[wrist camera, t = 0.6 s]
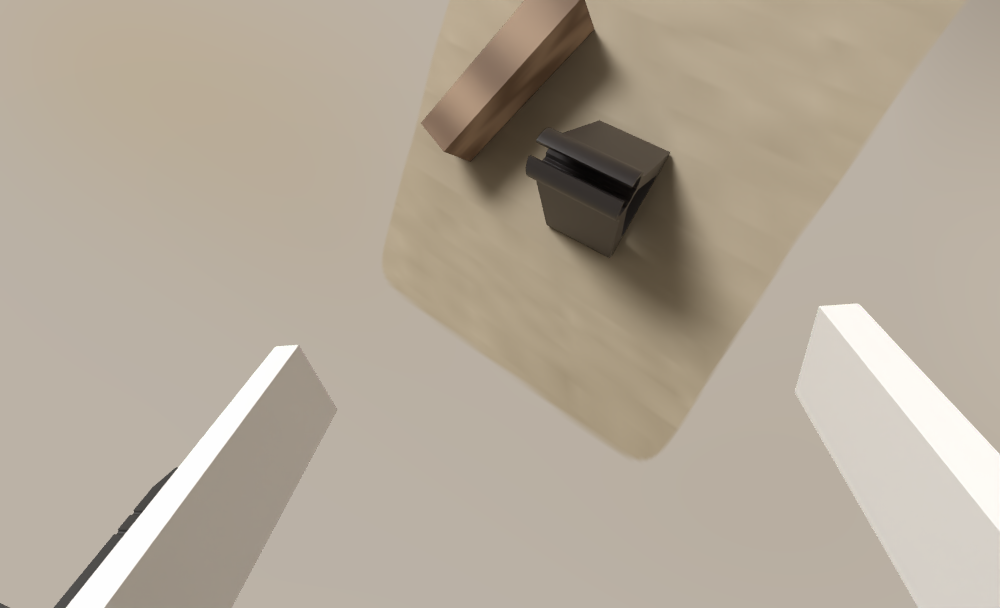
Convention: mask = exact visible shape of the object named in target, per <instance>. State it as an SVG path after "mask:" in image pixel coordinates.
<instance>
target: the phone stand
mask: <svg viewBox="0 0 1000 608" xmlns="http://www.w3.org/2000/svg"><path fill="white" fill-rule="evenodd" d="M536 141H537V143H539V144H541V145H543V146H545V147H547V148H549V149H548V150H547V152H546V157H545V158H544V159H543V160H540V159H538V158H536V157H534V156H531V155H530V156H529V157H528V160H527V165H526V174H527V176H529V177H531V178H533V179H534V180H536V181H537V185H538V190H539V194H540V198H541V202H542V207H543V211H544V215H545V220H546V224H547V225H548V226H550V227H552V228H554V229H556V230H558V231H560V232H562V233H563V234H565V235H567V236H569V237H571V238H573V239H575V240H577V241H578V242H580V243H582V244H584V245H586V246H588V247H590V248H592V249H594V250H595V251H597V252H599V253H601V254H603V255H605V256H607V257H609V258H610V257H611V256H612V254H613V252H614V251H615V249H616V247H617V245H618V244H619V242H620V240H621V238H622V236H623V235H624V233H625V231H626V229H627V228H628V226H629V224H630V222H631V221H632V219H633V217H634V215H635V214H636V212H637V210H638V208H639V206H640V205H641V203H642V201H643V200H644V198H645V196H646V194H647V193H648V191H649V189H650V187H651V186H652V184H653V182H654V180H655V179H656V177H657V175H658V173H659V172H660V170H661V168H662V166H663V165H664V163H665V161H666V159H667V158H668V156H669V154H670V152H668V151H666V150H664V149H662V148H659V147H657V146H655V145H653V144H651V143H648V142H646V141H644V140H642V139H639V138H637V137H635V136H633V135H631V134H628V133H626V132H624V131H622V130H620V129H617V128H615V127H613V126H611V125H608V124H606V123H604V122H602V121H600V120H599V121H596V122H594V123H591V124H588V125H585V126H582V127H579V128H576V129H573V130H570V131H567V132H565V133H561V132H559V131H556V130H554V129H552V128H550V127H548V128H546V129H545V130H544V131H543V132H542V133H541V134H540V135H539V137H538V138H537V140H536Z"/></svg>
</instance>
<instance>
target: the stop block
mask: <svg viewBox="0 0 1000 608" xmlns="http://www.w3.org/2000/svg"><path fill="white" fill-rule="evenodd" d="M593 30H594V27H593V24H592V21H591V18H590V15H589V12H588V9H587V5H586V2H585V0H524V1H523V3H522V4H521V5H520V6H519V7H518V9H517V10H516V11H515V12H514V13H513V14H512V16H511V17H510V18H509V19H508V20H507V22H506V23H505V24H504V25H503V26H502V28H501V29H500V30H499V31H498V32H497V33H496V35H495V36H494V37H493V38H492V39H491V41H490V42H489V43H488V44H487V45H486V47H485V48H484V49H483V50H482V51H481V52H480V54H479V55H478V56H477V57H476V58H475V60H474V61H473V62H472V63H471V64H470V65H469V67H468V68H467V69H466V70H465V71H464V73H463V74H462V75H461V76H460V77H459V79H458V80H457V81H456V82H455V83H454V84H453V86H452V87H451V88H450V89H449V90H448V92H447V93H446V94H445V95H444V96H443V97H442V99H441V100H440V101H439V102H438V103H437V105H436V106H435V107H434V108H433V109H432V111H431V112H430V113H429V114H428V115H427V116H426V118H425V119H424V120H423V121H422V122H421V124H422V125H423V126H424V128H425V129H426V130H427V131H428V133H429V134H430V135H431V136H432V138H433V139H434V140H435V141H436V142H437V144H438V145H439V146H440V147H441V149H442V150H443V151H444V152H446V153H449V154H452V155H454V156H457V157H460V158H462V159H465V160H468V161H471V160H472V159H473V158H474V157H475V156H476V155H477V154H478V153H479V152H480V151H481V149H482V148H483V147H484V146H485V145H486V144H487V143H488V142H489V141H490V140H491V139H492V138H493V137H494V136H495V135H496V133H497V132H498V131H499V130H500V129H501V128H502V127H503V126H504V125H505V124H506V123H507V122H508V121H509V120H510V119H511V117H512V116H513V115H514V114H515V113H516V112H517V111H518V110H519V109H520V108H521V107H522V106H523V105H524V104H525V103H526V102H527V100H528V99H529V98H530V97H531V96H532V95H533V94H534V93H535V92H536V91H537V90H538V89H539V88H540V87H541V86H542V84H543V83H544V82H545V81H546V80H547V79H548V78H549V77H550V76H551V75H552V74H553V73H554V72H555V71H556V70H557V68H558V67H559V66H560V65H561V64H562V63H563V62H564V61H565V60H566V59H567V58H568V57H569V56H570V55H571V54H572V52H573V51H574V50H575V49H576V48H577V47H578V46H579V45H580V44H581V43H582V42H583V41H584V40H585V39H586V38H587V36H588V35H589V34H590V33H591V32H592V31H593Z"/></svg>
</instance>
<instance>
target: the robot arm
mask: <svg viewBox="0 0 1000 608" xmlns="http://www.w3.org/2000/svg"><path fill="white" fill-rule="evenodd" d="M795 394H796V395H797V397H798V399H799V401H800V402H801V404H802V406H803V408H804V409H805V411H806V413H807V415H808V416H809V418H810V420H811V421H812V423H813V425H814V427H815V429H816V430H817V432H818V434H819V436H820V437H821V439H822V441H823V443H824V444H825V446H826V448H827V450H828V451H829V453H830V455H831V456H832V458H833V460H834V462H835V464H836V465H837V467H838V469H839V471H840V472H841V474H842V476H843V478H844V479H845V481H846V483H847V485H848V486H849V488H850V489H851V491H852V493H853V495H854V497H855V498H856V500H857V502H858V504H859V506H860V507H861V509H862V511H863V513H864V514H865V516H866V518H867V519H868V521H869V523H870V525H871V527H872V528H873V530H874V532H875V533H876V535H877V537H878V539H879V540H880V542H881V544H882V546H883V547H884V549H885V551H886V553H887V554H888V556H889V558H890V560H891V561H892V563H893V565H894V567H895V568H896V570H897V572H898V574H899V575H900V577H901V579H902V580H903V582H904V584H905V586H906V588H907V589H908V591H909V593H910V595H911V596H912V598H913V600H914V602H915V603H916V605H917V607H918V608H1000V454H999V453H998V452H997V451H996V450H995V449H994V448H993V447H992V446H991V445H990V444H989V443H988V441H987V440H986V439H985V438H984V437H983V436H982V435H981V434H980V433H979V432H978V431H977V430H976V429H975V427H974V426H973V425H972V424H971V423H970V422H969V421H968V420H967V419H966V418H965V417H964V416H963V415H962V414H961V413H960V412H959V411H958V409H956V407H955V406H954V405H953V404H952V403H951V402H950V401H949V400H948V399H947V398H946V396H945V395H943V393H942V392H941V391H940V390H939V389H938V388H937V387H936V386H935V385H934V384H933V383H932V382H931V380H929V378H928V377H927V376H926V375H925V374H924V373H923V372H922V371H921V370H920V369H919V368H918V367H917V366H916V364H915V363H914V362H913V361H912V360H911V359H910V358H909V357H908V356H907V355H906V354H905V353H904V352H903V351H902V349H901V348H900V347H899V346H898V345H897V344H896V343H895V342H894V341H893V340H892V339H891V338H890V337H889V336H888V335H887V333H886V332H885V331H884V330H883V329H882V328H881V327H880V326H879V325H878V324H877V323H876V322H875V321H874V320H873V319H872V317H871V316H869V314H868V313H867V312H866V311H865V310H864V309H863V308H862V307H861V306H860V305H859V304H844V305H831V306H819V308H818V312H817V315H816V319H815V322H814V326H813V330H812V333H811V336H810V340H809V343H808V347H807V351H806V354H805V357H804V361H803V364H802V368H801V371H800V375H799V378H798V382H797V385H796V389H795ZM336 411H337V408H336V406H335V405H334V403H333V401H332V400H331V398H330V396H329V395H328V393H327V392H326V390H325V388H324V386H323V385H322V383H321V381H320V380H319V378H318V376H317V375H316V373H315V371H314V370H313V368H312V366H311V365H310V363H309V361H308V360H307V358H306V356H305V354H304V353H303V351H302V349H301V348H300V346H299V345H290V346H277V347H275V348H274V349H273V350H272V352H271V353H270V354H269V355H268V356H267V358H266V359H265V360H264V361H263V363H262V364H261V365H260V366H259V368H258V369H257V370H256V371H255V373H254V374H253V375H252V376H251V378H250V379H249V380H248V381H247V383H246V384H245V385H244V386H243V388H242V389H241V390H240V391H239V393H238V394H237V395H236V396H235V398H234V399H233V400H232V401H231V403H230V404H229V405H228V406H227V407H226V409H225V410H224V411H223V412H222V414H221V415H220V416H219V418H218V419H217V420H216V421H215V423H214V424H213V425H212V426H211V427H210V429H209V430H208V431H207V432H206V434H205V435H204V436H203V437H202V439H201V440H200V441H199V442H198V444H197V445H196V446H195V448H194V449H193V450H192V451H191V452H190V454H189V455H188V456H187V457H186V459H185V460H184V461H183V462H182V464H181V465H180V466H179V467H178V468H175V469H174V470H172V471H171V472H170V473H169V474H168V475H167V476H165V477H164V478H163V479H162V480H161V481H160V482H158V483H157V484H156V485H155V486H154V487H152V489H151V490H150V491H149V492H148V494H147V495H146V496H145V497H144V499H143V500H142V501H141V502H140V503H139V505H138V506H137V507H136V508H135V509H134V514H133V515H130V516H129V517H128V518H127V519H126V521H125V522H124V523H123V524H122V525H121V526H120V528H119V529H118V530H119V531H118V533H117V534H116V535H115V534H114V535H113V536H112V538H111V539H110V540H109V541H108V542H107V543H106V545H105V546H104V547H103V548H102V550H101V551H100V552H99V553H98V555H97V556H96V557H95V558H94V559H93V560H92V562H91V563H90V564H89V565H88V567H87V568H86V569H85V570H84V571H83V573H82V574H81V575H80V576H79V578H78V579H77V580H76V581H75V582H74V584H73V585H72V586H71V587H70V588H69V590H68V591H67V592H66V593H65V595H64V596H63V597H62V598H61V599H60V601H59V602H58V603H57V605H56V606H55V607H54V608H232V606H233V604H234V602H235V600H236V598H237V597H238V595H239V593H240V591H241V589H242V587H243V585H244V583H245V582H246V580H247V578H248V576H249V574H250V572H251V570H252V568H253V566H254V565H255V563H256V561H257V559H258V557H259V555H260V553H261V552H262V549H263V548H264V546H265V544H266V542H267V540H268V539H269V537H270V535H271V533H272V531H273V529H274V527H275V525H276V524H277V522H278V520H279V518H280V516H281V514H282V512H283V511H284V509H285V507H286V505H287V503H288V501H289V499H290V497H291V496H292V494H293V492H294V490H295V488H296V486H297V484H298V483H299V481H300V479H301V477H302V475H303V473H304V471H305V469H306V468H307V466H308V464H309V462H310V460H311V458H312V456H313V455H314V453H315V451H316V449H317V447H318V445H319V443H320V441H321V439H322V438H323V436H324V434H325V432H326V430H327V428H328V426H329V425H330V423H331V421H332V419H333V417H334V415H335V413H336ZM0 608H9V607H7V606H5V605H3V604H1V603H0Z"/></svg>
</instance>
